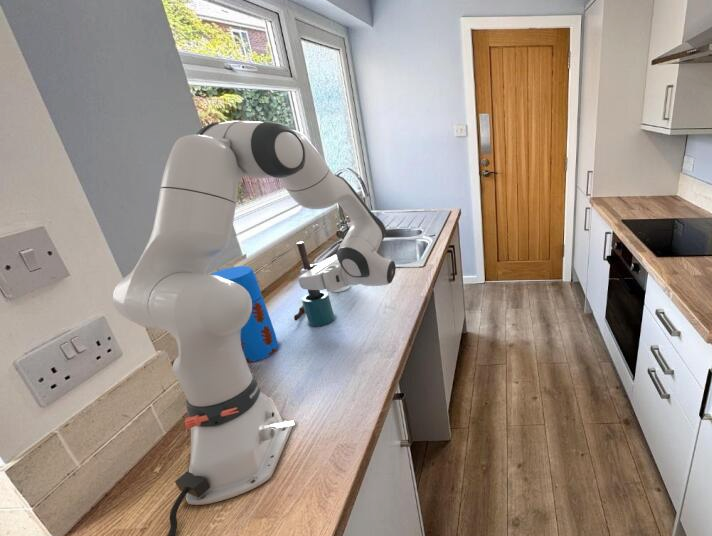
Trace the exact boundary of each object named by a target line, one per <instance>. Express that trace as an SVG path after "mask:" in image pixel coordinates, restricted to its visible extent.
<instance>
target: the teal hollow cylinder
mask: <svg viewBox="0 0 712 536" xmlns="http://www.w3.org/2000/svg"><path fill="white" fill-rule="evenodd" d="M320 293H321V296H322V298H319V299H316V300H310V296H309V293H307V294H305V295H304V296H303V297H302V298H301V302H302V305H304V309H305V312H304V313H305V315H306V318H307V321H308V324H309V325H310V326H311V327H322V326H326V325H328V324H330V323H332V322H333V321H334V320H335V314H334V310H333V305H332V304H331V299H330V295H329V293H328V291H325V290H320Z"/></svg>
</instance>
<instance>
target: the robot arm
mask: <svg viewBox="0 0 712 536" xmlns="http://www.w3.org/2000/svg"><path fill="white" fill-rule="evenodd" d="M242 178H249V179H270V178H276V179H278V180H279V181H280V183H281V184H282V186H283V187H284V188H285V190H286V192H287V193H288V194H289V195H290V197H291V198H292V199H293V201H295V202H296V203H297V204H298V205H300V207H303V208H306V209H310V210H323V209H328V208H331V207H333V206H335V205H336V204H338V206H339V207H340V208H341V209H342V210H343V212H344V213H345V214H346V215H347V216H348V217H349V218H350V219H349V220H350V225H349V229H348V230H347V233H346V234H345V235H344V238H343V239H342V241H341V242H340V244H339V246H338V248H337V251H336V252H335V253H336V254H333V255H332V256H329V257H330V258H328V257H327V258H328V259H327V260H325V261H323V262H322V263H321V262H318V263H313V264H312V263H310V266H311V270H308V268H304V267H303V268H301V269H300V270H299V272H300V275H298V277H297V278H298V284H299V287H300V288H301V289H302V290H307V291H308V290H320V291H326V292H329V293H331V292H332V293H333V291H335V290H337V289H339V288H342V287H346V286H348V285H349V286H359V285H361V286H365V287H382V286H383V287H384V286H387V285H390V284H391V283H392V282H393V280H394V278H395V276H396V270H397V268H396V263H395V261H394V260H393V259H389V258H385V257H384V256H382V255H380V254H379V253H378V249H379V247H380V245H381V244H382V242H383V241H384V239H385V237H386V236H387V228H386V226H385V224H384V223H383V221H382V220H381V219H380V218H379V217H378V216H376V215H375V214H374V213H373V212H372V211H371V209H370V208H369V207H368V206H367V204H366V203H365V202H364V200H363V199H362V197H360V195H359V193H357V191H356V190H355V189H354V187H353V186H352V185H351V184H350V183H349V182H348V181H347V180H346V178H344V177H342V176H341V175H340V174H339V175H338V174H334V173H333V171H332V170H331V168H330V167H329V165H328V164H327V162H326V161H325V159H324V158H323V156H322V155H321V154H320V152H319V151H318V150H317V149H316V147H315V146H314V145H313V144H312V142H311V141H310V140H309V139H308V138H307V137H306V136H305V134H303V133H301V132H300V131H297V130H295V129H292V128H290V127H289V126H288V125H285V124H283V123H279V122H275V121H253V120H251V121H250V120H231V121H225V122H222V121H220V122H219V121H218V122H213V123H209V124H207V125H205V126H203V127H201V128H200V129H199V130H198V131H197V132H196V133H195V134H188V135H183V136H182V137H179V138H178V139H176V141H175V142H174V144H173V146H172V149H171V150H170V153H169V155H168V158H167V160H166V163H165V167H164V170H163V173H162V177H161V183H160V187H159V194H158V200H157V206H156V211H155V216H154V221H153V227H152V230H151V234H150V237H149V239H148V241H147V243H146V246H145V247H144V249H143V251H142V253H141V255H140V257H139V259H138V260H137V263H136V265H135V266H134V267H133V269H132V271H131V272H130V273H129V274H127V275H125V276H124V277H123V278H122V279H121V280H120V281H119V282H118V283H117V284H116V286H115V288H114V290H113V293H112V303H113V306H114V308H115V310H116V311H117V312H118V313H119V314H120V315H121V316H122V317H124V318H126V319H127V320H129V321H131V322H133V323H134V324H136V325H138V326H141V327H143V328H148V329H152V330H153V329H154V330H158V331H165V332H167V333H169V335H171V336H172V337H173V338H174V340H175V341H176V345H177V352H178V356H177V357H176V358H175V359H174V361H173V363H172V373H173V374H174V377H175V379H176V380H177V382H178V385H179V386H180V389H181V390H182V393H183V394H184V397H185V405H186V412H187V415H188V416H187V417H186V418H185V420H184V425H185V427H186V429H188V430H189V429H190V459H189V468H188V471H186V472H184V473H183V474H181V475H180V476H179V477H178V478H177V479H176V480H174V483H175V485H176V486H177V488H178V490H179V491H181V492H180V493H179V495H178V496H177V498H176V499H175V501H174V503H173V505H172V507H171V510H170V513H169V524H170V525H169V526H170V528H169V531H168V534H167V536H175V535H176V532H177V529H178V517H177V514H178V510H179V507H180V506H181V503H182V502H183V500H184V498H185V500H186V503H187V504H188V505H193V506H202V505H209V504H214V503H219V502H221V501H224V500H228V499H231V498H235V497H237V496H240V495H242V494H245V493H248V492H249V491H252V490H254V489H256V488H258V487H259V486H261V485H263V484H264V483H266V482H267V481H268V480H270V479H271V478H272V476H273V474H274V472H275V469H276V467H277V465H278V462H279V461H280V459H281V458H280V457H281V455H282V452H283V451H284V448H285V446H286V443H287V441H288V438H289V436H290V434H291V432H292V429H293V426H295V422H294V420H285V419H283V418H282V416H281V414H280V411H279V410H278V408H277V406H276V403H275V402H274V400H273V398H272V397H270V396H268V395H266V394H264V393H263V392H261V387H260V384H259V381H258V379H257V378H256V376H255V374H254V373H253V372H252V371H251V369H250V367H249V364H248V362H247V361H246V358H245V356H244V353H243V350H242V346H241V328H242V327H243V326H244V325H245V324H246V323H247V321H248V320H249V318H250V315H251V312H252V300H251V297H250V295H249V293H248V291H247V290H246V289H245V288H244V287H243V286H241V285H239V284H237V283H235V282H233V281H230V280H228V279H225V278H223V277H220V276H216V275H211V274H207V273H208V271H209V269H210V266H211V264H212V263H213V261H214V260H215V258H216V257H217V256H218V255H219V254H220V253H221V252H223V251H224V250H226V249H227V248H228V247H229V245H230V243H231V241H232V233H233V227H234V220H235V213H236V207H237V201H238V200H237V199H238V190H239V189H238V188H239V184H240V181H241V179H242Z"/></svg>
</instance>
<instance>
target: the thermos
mask: <svg viewBox="0 0 712 536" xmlns="http://www.w3.org/2000/svg"><path fill="white" fill-rule="evenodd" d="M210 275H216V276H220V277H223V278H225V279H228V280H230V281H233V282H235V283H237V284H239V285H241V286H243V287H244V288H245V289H246V290H247V291H248V293H249V295H250V297H251V300H252V312H251V315H250V318H249V320H248V321H247V323H246V324H245V325H244V326H243V327H242V328H241V346H242V350H243V353H244V356H245V358H246V361H247V363H248V362H249V363H250V362H257V361H260V360H263V359H266V358H268V357H269V356H271V355H273V354H274V353H276V351H278V349H279V343H278V338H277V335H276V332H275V329H274V326H273V323H272V320H271V318H270V314H269V312H268V308H267V306H266V305H267V304H266V303H265V300H264V297H263V294H262V291H261V289H260V285H259V282H258V279H257V277H256V274H255V272H254V269H253V268H252V267H250V266H245V265H243V266H242V265H241V266H240V265H239V266H233V267H232V266H231V267H228V268H224V269H220V270H217V271H215V272H213V273H210Z"/></svg>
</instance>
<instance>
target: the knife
mask: <svg viewBox="0 0 712 536" xmlns="http://www.w3.org/2000/svg"><path fill="white" fill-rule="evenodd" d="M305 313H306V312H305V309H304V305H303V304H302V305H301V307H299V310H298V312H297V313H296V314H295V315H294V316H293V319H294V321H296V322H297V321H298V320H299V319H300V318H301V317H302V316H303V314H305Z"/></svg>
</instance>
